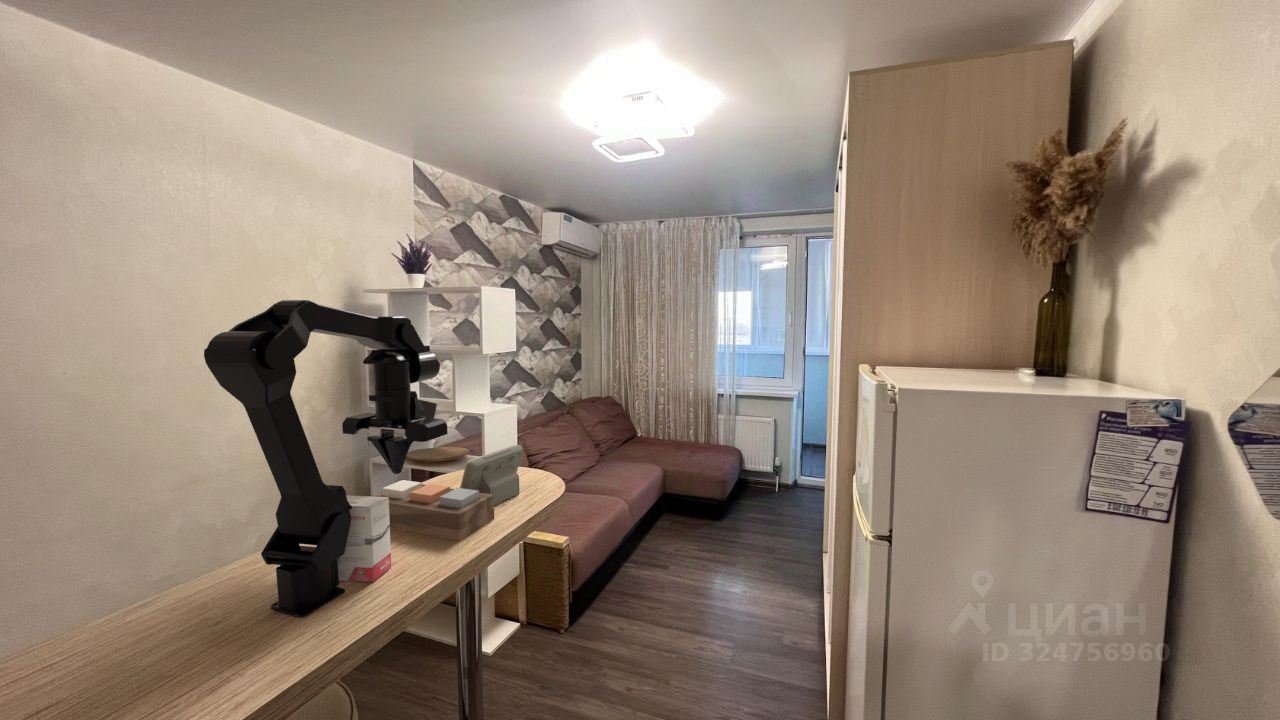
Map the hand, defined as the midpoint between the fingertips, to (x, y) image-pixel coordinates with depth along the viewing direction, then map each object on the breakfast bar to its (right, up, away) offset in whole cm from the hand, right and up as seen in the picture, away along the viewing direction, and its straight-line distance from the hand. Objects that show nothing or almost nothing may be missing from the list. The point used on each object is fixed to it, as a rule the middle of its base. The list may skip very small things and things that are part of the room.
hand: (397, 473), depth 87 cm
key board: (+3, -12, +8) cm, 14 cm away
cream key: (-4, -8, +10) cm, 14 cm away
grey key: (+9, -8, +6) cm, 14 cm away
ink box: (-1, -14, -11) cm, 17 cm away
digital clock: (+11, -11, +21) cm, 26 cm away
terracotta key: (+3, -8, +8) cm, 12 cm away
